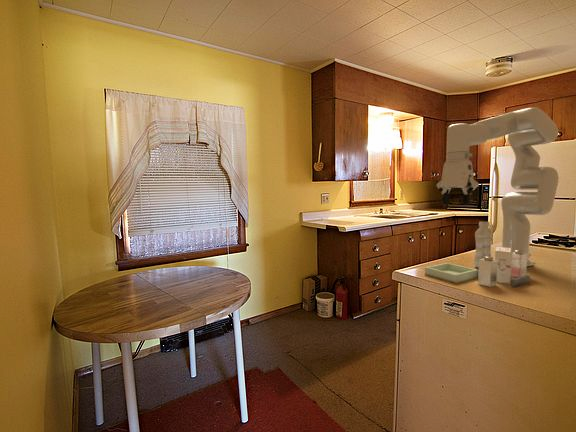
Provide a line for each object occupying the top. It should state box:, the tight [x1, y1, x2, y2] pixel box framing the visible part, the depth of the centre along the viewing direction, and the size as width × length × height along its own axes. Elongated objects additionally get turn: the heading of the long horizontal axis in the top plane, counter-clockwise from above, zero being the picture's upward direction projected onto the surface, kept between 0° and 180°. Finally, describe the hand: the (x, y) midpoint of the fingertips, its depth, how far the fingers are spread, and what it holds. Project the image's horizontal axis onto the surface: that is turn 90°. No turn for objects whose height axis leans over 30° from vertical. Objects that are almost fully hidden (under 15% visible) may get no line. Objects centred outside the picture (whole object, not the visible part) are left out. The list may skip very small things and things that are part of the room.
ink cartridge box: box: [494, 240, 512, 285], centre depth 110 cm, size 9×5×15 cm, turn 143°
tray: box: [424, 262, 479, 284], centre depth 117 cm, size 14×13×3 cm
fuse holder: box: [477, 250, 531, 288], centre depth 110 cm, size 24×12×10 cm, turn 117°
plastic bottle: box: [473, 220, 494, 269], centre depth 126 cm, size 6×7×20 cm
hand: (455, 204), depth 114 cm, fingers open, 6 cm apart
